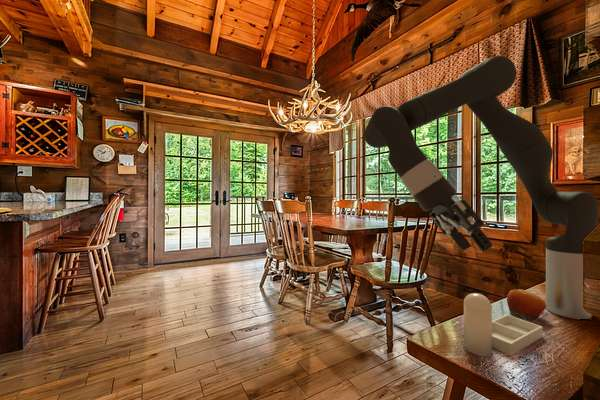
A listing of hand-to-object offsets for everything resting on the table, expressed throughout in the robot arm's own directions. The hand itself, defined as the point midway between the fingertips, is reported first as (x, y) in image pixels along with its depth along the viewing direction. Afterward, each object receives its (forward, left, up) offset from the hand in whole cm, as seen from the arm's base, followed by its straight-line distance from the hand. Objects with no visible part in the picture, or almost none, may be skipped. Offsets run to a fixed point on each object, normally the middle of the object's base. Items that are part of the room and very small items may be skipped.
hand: (476, 248), depth 55 cm
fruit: (-29, -3, -22) cm, 37 cm away
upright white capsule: (-2, -1, -22) cm, 22 cm away
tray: (-13, 0, -22) cm, 25 cm away
